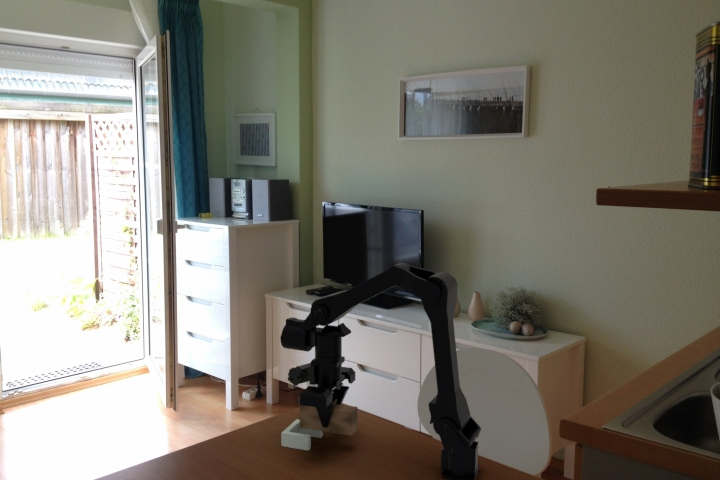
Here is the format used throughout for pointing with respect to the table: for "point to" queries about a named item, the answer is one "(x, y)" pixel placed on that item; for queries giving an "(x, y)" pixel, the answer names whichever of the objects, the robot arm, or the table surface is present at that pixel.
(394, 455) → the table surface
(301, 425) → the brown wooden block
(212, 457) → the table surface
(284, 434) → the bracket
